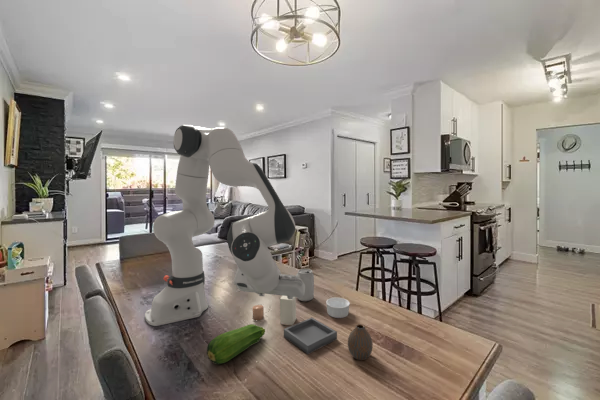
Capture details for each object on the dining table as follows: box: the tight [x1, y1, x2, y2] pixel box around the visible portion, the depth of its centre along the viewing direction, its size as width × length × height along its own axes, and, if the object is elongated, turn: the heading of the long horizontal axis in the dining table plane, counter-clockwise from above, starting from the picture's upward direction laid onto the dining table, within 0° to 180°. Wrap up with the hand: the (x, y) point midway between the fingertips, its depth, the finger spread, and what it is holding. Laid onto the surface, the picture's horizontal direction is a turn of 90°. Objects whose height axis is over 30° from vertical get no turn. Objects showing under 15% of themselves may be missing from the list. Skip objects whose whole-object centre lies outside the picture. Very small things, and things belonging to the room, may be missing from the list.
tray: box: [283, 317, 338, 355], centre depth 90 cm, size 12×12×2 cm
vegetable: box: [206, 323, 266, 365], centre depth 84 cm, size 7×7×20 cm
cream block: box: [279, 295, 297, 326], centre depth 101 cm, size 4×4×9 cm
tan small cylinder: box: [252, 304, 265, 322], centre depth 104 cm, size 4×4×4 cm
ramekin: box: [325, 297, 351, 319], centre depth 107 cm, size 9×9×4 cm
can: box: [295, 268, 315, 302], centre depth 120 cm, size 8×8×12 cm
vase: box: [347, 324, 374, 361], centre depth 81 cm, size 7×7×9 cm
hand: (276, 295), depth 89 cm, fingers open, 8 cm apart
